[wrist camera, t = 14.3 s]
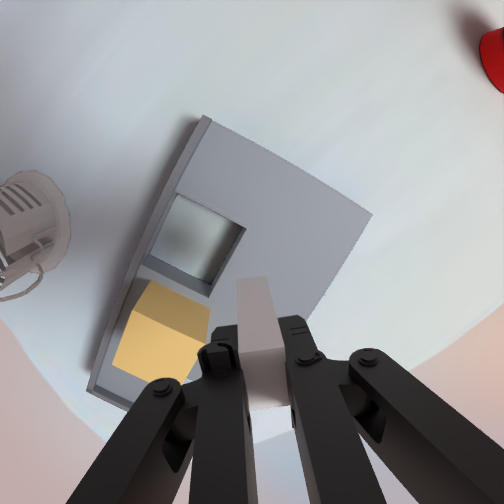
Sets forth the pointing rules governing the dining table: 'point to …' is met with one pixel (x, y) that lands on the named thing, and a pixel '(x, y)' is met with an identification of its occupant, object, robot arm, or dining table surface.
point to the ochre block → (162, 335)
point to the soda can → (494, 56)
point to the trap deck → (237, 242)
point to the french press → (31, 227)
